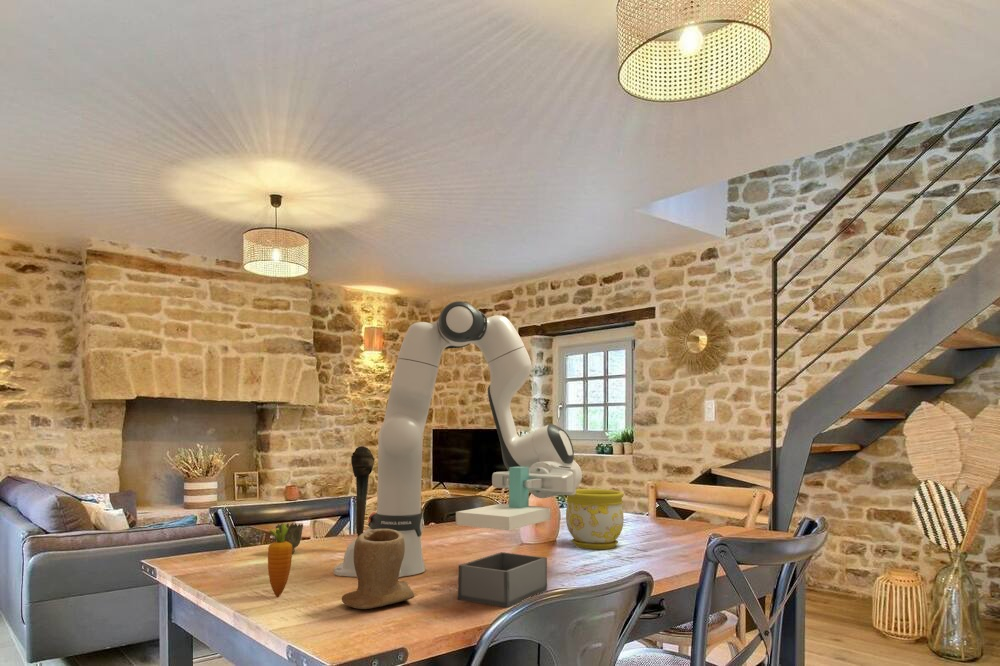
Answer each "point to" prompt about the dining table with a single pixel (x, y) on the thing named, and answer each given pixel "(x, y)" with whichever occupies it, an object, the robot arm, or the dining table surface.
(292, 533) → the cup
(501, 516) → the lid
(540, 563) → the tub
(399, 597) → the brown boot-shaped piece
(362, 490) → the decorative torch
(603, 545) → the flowerpot
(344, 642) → the dining table surface
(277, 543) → the carrot
